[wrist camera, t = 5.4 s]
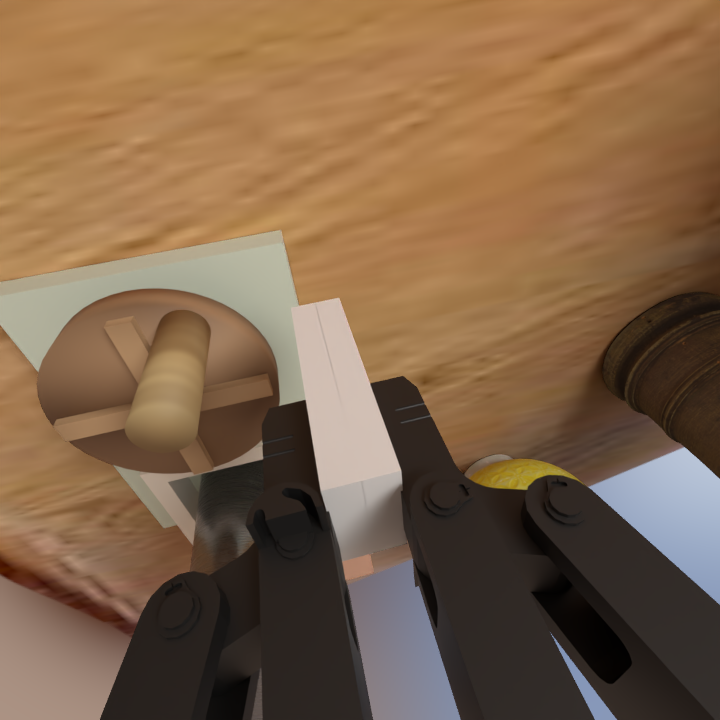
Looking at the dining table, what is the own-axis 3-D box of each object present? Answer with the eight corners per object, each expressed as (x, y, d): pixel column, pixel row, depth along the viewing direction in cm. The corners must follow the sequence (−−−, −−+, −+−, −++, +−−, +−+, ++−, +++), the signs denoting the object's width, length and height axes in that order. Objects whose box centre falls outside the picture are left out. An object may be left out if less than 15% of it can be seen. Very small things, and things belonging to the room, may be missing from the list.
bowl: (400, 469, 31) (427, 547, 26) (539, 400, 30) (595, 468, 25) (447, 527, 38) (475, 596, 33) (561, 473, 37) (608, 537, 32)
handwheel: (-2, 315, 15) (-133, 456, 10) (247, 267, 16) (245, 373, 11) (118, 466, 20) (75, 605, 15) (296, 425, 21) (310, 543, 16)
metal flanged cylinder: (181, 454, 23) (112, 863, 12) (265, 435, 24) (279, 809, 12) (210, 501, 26) (178, 863, 15) (283, 483, 27) (309, 820, 15)
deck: (-2, 282, 17) (-49, 326, 14) (281, 230, 18) (286, 262, 16) (167, 508, 28) (158, 557, 25) (337, 466, 29) (346, 509, 26)
